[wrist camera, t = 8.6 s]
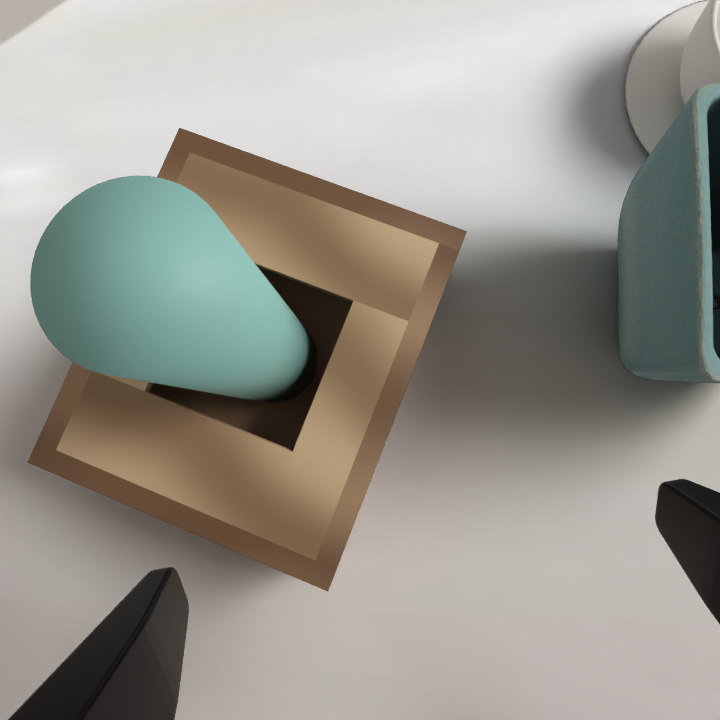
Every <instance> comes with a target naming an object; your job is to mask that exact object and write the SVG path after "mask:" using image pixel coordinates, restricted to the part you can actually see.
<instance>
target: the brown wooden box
mask: <svg viewBox="0 0 720 720" xmlns="http://www.w3.org/2000/svg"><path fill="white" fill-rule="evenodd" d="M157 178H163V179H166V180H169V181H173V182H175V183H177V184H180V185H182V186H184V187H186V188H188V189H189V190H191V191H193V192H194V193H196V194H197V195H198V196H199V197H201V198H202V199H203V200H204V201H205V202H206V203H207V204H208V205H209V206H210V207H211V208H212V209H213V210H214V212H215V213H216V214H217V215H218V217H219V218H220V219H221V221H222V222H223V223H224V224H225V226H226V227H227V228H228V230H229V231H230V232H231V233H232V235H233V236H234V237H235V239H236V240H237V241H238V242H239V244H240V245H241V246H242V248H243V249H244V250H245V251H246V253H247V254H248V255H249V257H250V258H251V259H252V260H253V262H254V263H255V264H256V266H257V267H258V268H259V269H260V271H261V272H262V273H263V275H264V276H265V277H266V278H267V280H268V281H269V282H270V284H271V285H272V286H273V287H274V289H275V290H276V291H277V293H278V294H279V295H280V296H281V298H282V299H283V300H284V302H285V303H286V304H287V305H288V307H289V308H290V309H291V311H292V312H293V313H294V314H295V316H296V317H297V318H298V320H299V321H300V322H301V323H302V325H303V326H304V327H305V329H306V330H307V331H308V332H309V334H310V335H311V337H312V339H313V341H314V343H315V346H316V351H317V366H316V370H315V373H314V376H313V378H312V380H311V382H310V383H309V385H308V386H307V387H306V388H305V389H304V390H303V391H302V392H301V393H300V394H298V395H297V396H296V397H294V398H292V399H290V400H287V401H284V402H279V403H266V402H260V401H255V400H249V399H243V398H237V397H232V396H226V395H220V394H214V393H209V392H203V391H197V390H192V389H186V388H180V387H174V386H169V385H163V384H157V383H151V382H146V381H140V380H134V379H129V378H123V377H117V376H112V375H106V374H101V373H97V372H94V371H91V370H88V369H86V368H84V367H82V366H80V365H78V364H76V363H74V362H73V364H72V366H71V368H70V370H69V372H68V375H67V377H66V379H65V381H64V383H63V386H62V388H61V390H60V392H59V394H58V397H57V399H56V401H55V403H54V405H53V408H52V410H51V412H50V414H49V416H48V419H47V421H46V423H45V425H44V427H43V430H42V432H41V434H40V436H39V438H38V441H37V443H36V445H35V447H34V449H33V452H32V454H31V456H30V458H29V460H28V463H30V464H33V465H35V466H37V467H40V468H42V469H44V470H47V471H49V472H51V473H54V474H56V475H58V476H61V477H63V478H65V479H68V480H70V481H72V482H74V483H77V484H79V485H81V486H84V487H86V488H88V489H91V490H93V491H95V492H98V493H100V494H102V495H105V496H107V497H109V498H112V499H114V500H116V501H119V502H121V503H123V504H126V505H128V506H130V507H133V508H135V509H137V510H140V511H142V512H144V513H147V514H149V515H151V516H154V517H156V518H158V519H161V520H163V521H165V522H168V523H170V524H172V525H174V526H177V527H179V528H181V529H184V530H186V531H188V532H191V533H193V534H195V535H198V536H200V537H202V538H205V539H207V540H209V541H212V542H214V543H216V544H219V545H221V546H223V547H226V548H228V549H230V550H233V551H235V552H237V553H240V554H242V555H244V556H247V557H249V558H251V559H254V560H256V561H258V562H261V563H263V564H265V565H267V566H270V567H272V568H274V569H277V570H279V571H281V572H284V573H286V574H288V575H291V576H293V577H295V578H298V579H300V580H302V581H305V582H307V583H309V584H312V585H314V586H316V587H319V588H321V589H323V590H326V591H328V590H329V587H330V585H331V582H332V579H333V577H334V574H335V572H336V569H337V566H338V564H339V561H340V559H341V556H342V553H343V551H344V548H345V546H346V543H347V541H348V538H349V535H350V533H351V530H352V528H353V525H354V522H355V520H356V517H357V515H358V512H359V509H360V507H361V504H362V502H363V499H364V496H365V494H366V491H367V489H368V486H369V483H370V481H371V478H372V476H373V473H374V470H375V468H376V465H377V463H378V460H379V458H380V455H381V452H382V450H383V447H384V445H385V442H386V439H387V437H388V434H389V432H390V429H391V426H392V424H393V421H394V419H395V416H396V413H397V411H398V408H399V406H400V403H401V400H402V398H403V395H404V393H405V390H406V387H407V385H408V382H409V380H410V377H411V374H412V372H413V369H414V367H415V364H416V362H417V359H418V356H419V354H420V351H421V349H422V346H423V343H424V341H425V338H426V336H427V333H428V330H429V328H430V325H431V323H432V320H433V317H434V315H435V312H436V310H437V307H438V304H439V302H440V299H441V297H442V294H443V291H444V289H445V286H446V284H447V281H448V278H449V276H450V273H451V271H452V268H453V266H454V263H455V260H456V258H457V255H458V253H459V250H460V247H461V245H462V242H463V240H464V237H465V234H466V232H467V231H464V230H461V229H459V228H456V227H453V226H450V225H448V224H445V223H442V222H439V221H436V220H434V219H431V218H428V217H425V216H423V215H420V214H417V213H414V212H412V211H409V210H406V209H403V208H400V207H398V206H395V205H392V204H389V203H387V202H384V201H381V200H378V199H375V198H373V197H370V196H367V195H364V194H362V193H359V192H356V191H353V190H350V189H348V188H345V187H342V186H339V185H337V184H334V183H331V182H328V181H326V180H323V179H320V178H317V177H314V176H312V175H309V174H306V173H303V172H301V171H298V170H295V169H292V168H289V167H287V166H284V165H281V164H278V163H276V162H273V161H270V160H267V159H265V158H262V157H259V156H256V155H253V154H251V153H248V152H245V151H242V150H240V149H237V148H234V147H231V146H228V145H226V144H223V143H220V142H217V141H215V140H212V139H209V138H206V137H203V136H201V135H198V134H195V133H192V132H190V131H187V130H184V129H181V128H179V130H178V132H177V134H176V137H175V139H174V141H173V143H172V146H171V148H170V150H169V152H168V154H167V157H166V159H165V161H164V163H163V165H162V168H161V170H160V172H159V174H158V176H157Z"/></svg>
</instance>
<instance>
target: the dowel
mask: <svg viewBox="0 0 720 720" xmlns="http://www.w3.org/2000/svg"><path fill="white" fill-rule="evenodd" d="M31 297H32V303H33V307H34V311H35V314H36V317H37V319H38V321H39V324H40V326H41V328H42V329H43V331H44V333H45V334H46V336H47V338H48V339H49V340H50V341H51V342H52V344H53V345H54V346H55V347H56V348H57V349H58V350H59V351H60V352H61V353H62V354H63V355H64V356H66V357H67V358H69V359H70V360H72V361H73V362H74V363H76V364H78V365H80V366H82V367H84V368H86V369H88V370H91V371H94V372H97V373H101V374H106V375H112V376H117V377H123V378H129V379H134V380H140V381H146V382H151V383H157V384H163V385H169V386H174V387H180V388H186V389H192V390H197V391H203V392H209V393H214V394H220V395H226V396H232V397H237V398H243V399H249V400H255V401H260V402H266V403H279V402H284V401H287V400H290V399H292V398H294V397H296V396H297V395H298V394H300V393H301V392H302V391H303V390H304V389H305V388H306V387H307V386H308V385H309V383H310V382H311V380H312V378H313V376H314V373H315V370H316V366H317V351H316V346H315V343H314V341H313V339H312V337H311V335H310V334H309V332H308V331H307V330H306V329H305V327H304V326H303V325H302V323H301V322H300V321H299V320H298V318H297V317H296V316H295V314H294V313H293V312H292V311H291V309H290V308H289V307H288V305H287V304H286V303H285V302H284V300H283V299H282V298H281V296H280V295H279V294H278V293H277V291H276V290H275V289H274V287H273V286H272V285H271V284H270V282H269V281H268V280H267V278H266V277H265V276H264V275H263V273H262V272H261V271H260V269H259V268H258V267H257V266H256V264H255V263H254V262H253V260H252V259H251V258H250V257H249V255H248V254H247V253H246V251H245V250H244V249H243V248H242V246H241V245H240V244H239V242H238V241H237V240H236V239H235V237H234V236H233V235H232V233H231V232H230V231H229V230H228V228H227V227H226V226H225V224H224V223H223V222H222V221H221V219H220V218H219V217H218V215H217V214H216V213H215V212H214V210H213V209H212V208H211V207H210V206H209V205H208V204H207V203H206V202H205V201H204V200H203V199H202V198H201V197H199V196H198V195H197V194H196V193H194V192H193V191H191V190H189V189H188V188H186V187H184V186H182V185H180V184H177V183H175V182H173V181H169V180H166V179H163V178H157V177H151V176H128V177H121V178H116V179H112V180H108V181H105V182H103V183H100V184H97V185H95V186H93V187H91V188H89V189H87V190H85V191H84V192H82V193H81V194H79V195H78V196H76V197H75V198H73V199H72V200H71V201H70V202H69V203H67V204H66V205H65V206H64V207H63V208H62V209H61V210H60V211H59V212H58V213H57V214H56V216H55V217H54V218H53V220H52V221H51V222H50V224H49V225H48V226H47V228H46V230H45V232H44V233H43V235H42V237H41V239H40V241H39V244H38V246H37V249H36V251H35V255H34V259H33V263H32V269H31Z"/></svg>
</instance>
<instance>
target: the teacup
mask: <svg viewBox="0 0 720 720" xmlns="http://www.w3.org/2000/svg"><path fill="white" fill-rule="evenodd" d="M715 83H720V0H704V1H699V2H695V3H692V4H690V5H687V6H684V7H682V8H680V9H678V10H676V11H674V12H672V13H671V14H669V15H667V16H666V17H664V18H663V19H661V20H660V21H659V22H658V23H657V24H656V25H654V26H653V27H652V28H651V29H650V30H649V31H648V32H647V34H646V35H645V36H644V37H643V39H642V40H641V42H640V43H639V45H638V46H637V48H636V50H635V52H634V54H633V56H632V59H631V61H630V64H629V67H628V71H627V76H626V83H625V98H626V106H627V111H628V115H629V119H630V122H631V125H632V127H633V129H634V131H635V133H636V135H637V137H638V139H639V141H640V142H641V144H642V145H643V147H644V148H645V149H646V151H647V152H648V153H649V154H650V153H651V152H652V150H653V149H654V148H655V146H656V145H657V143H658V142H659V141H660V139H661V138H662V136H663V135H664V134H665V132H666V131H667V130H668V128H669V127H670V125H671V124H672V123H673V121H674V120H675V118H676V117H677V116H678V114H679V113H680V111H681V110H682V109H683V107H684V106H685V105H686V103H687V102H688V100H689V99H690V98H691V96H692V95H693V93H694V92H695V91H696V89H697V88H699V87H703V86H705V85H708V84H715Z"/></svg>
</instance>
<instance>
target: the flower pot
mask: <svg viewBox="0 0 720 720" xmlns="http://www.w3.org/2000/svg"><path fill="white" fill-rule="evenodd" d="M713 297H716V298H717V299H718V300H719V306H718V307H717V308H713ZM618 301H619V341H618V344H619V356H620V360H621V362H622V364H623V366H624V367H625V368H626V369H627V370H628V371H629V372H631V373H632V374H634V375H636V376H639V377H641V378H646V379H651V380H662V381H689V382H710V383H720V83H715V84H708V85H705V86H703V87H699V88H697V89H696V91H695V92H694V93H693V95H692V96H691V98H690V99H689V100H688V102H687V103H686V105H685V106H684V107H683V109H682V110H681V111H680V113H679V114H678V116H677V117H676V118H675V120H674V121H673V123H672V124H671V125H670V127H669V128H668V130H667V131H666V132H665V134H664V135H663V136H662V138H661V139H660V141H659V142H658V143H657V145H656V146H655V148H654V149H653V150H652V152H651V153H650V155H649V156H648V158H647V159H646V160H645V162H644V163H643V165H642V166H641V168H640V169H639V171H638V172H637V174H636V176H635V177H634V179H633V180H632V182H631V184H630V186H629V189H628V191H627V194H626V196H625V199H624V202H623V205H622V209H621V214H620V219H619V228H618Z"/></svg>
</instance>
